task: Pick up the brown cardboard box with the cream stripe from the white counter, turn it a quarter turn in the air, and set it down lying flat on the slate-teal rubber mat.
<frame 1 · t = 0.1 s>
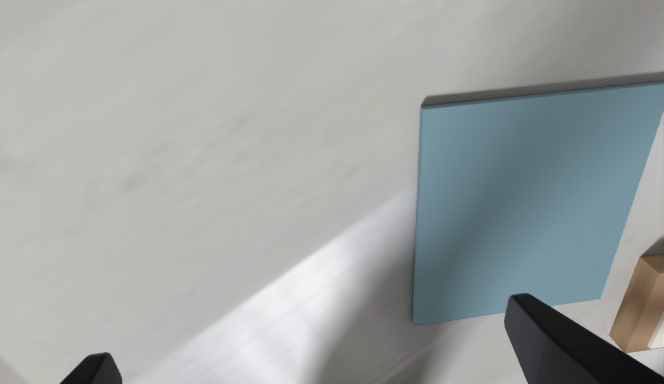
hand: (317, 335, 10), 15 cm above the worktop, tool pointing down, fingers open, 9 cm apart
brown cardboard box: (650, 290, 33), on the worktop
mat: (522, 215, 28), on the worktop
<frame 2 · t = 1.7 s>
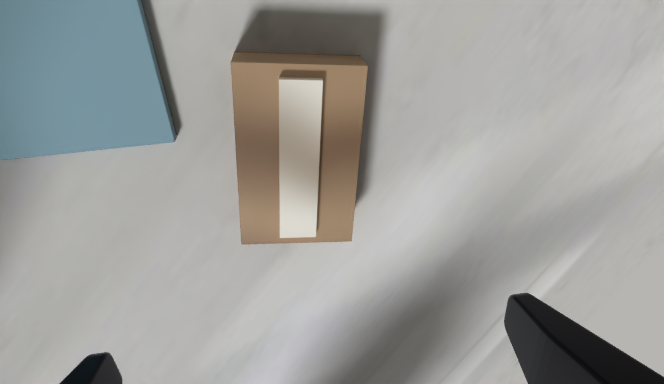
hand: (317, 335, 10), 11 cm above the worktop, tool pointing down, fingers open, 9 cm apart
brown cardboard box: (296, 142, 20), on the worktop
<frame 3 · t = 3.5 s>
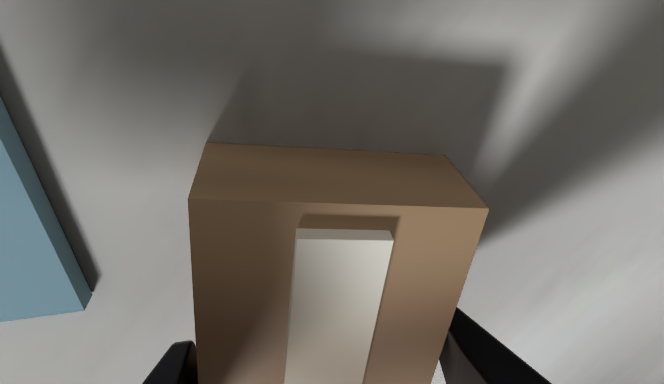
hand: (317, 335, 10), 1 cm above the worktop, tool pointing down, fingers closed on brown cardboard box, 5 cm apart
brown cardboard box: (313, 295, 11), on the worktop, touching gripper
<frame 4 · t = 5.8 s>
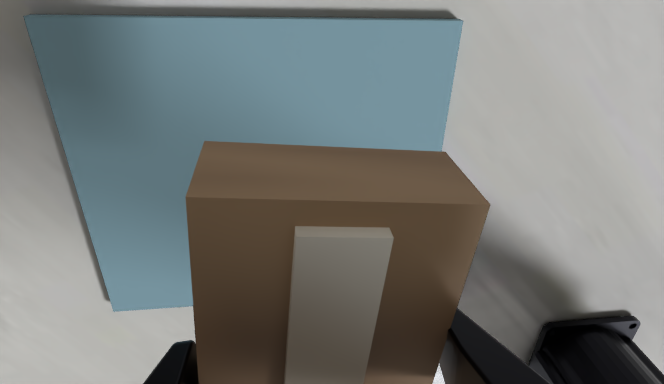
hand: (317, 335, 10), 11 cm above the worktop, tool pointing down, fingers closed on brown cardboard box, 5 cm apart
brown cardboard box: (314, 293, 11), point 10 cm above the worktop, touching gripper
mat: (266, 179, 20), on the worktop
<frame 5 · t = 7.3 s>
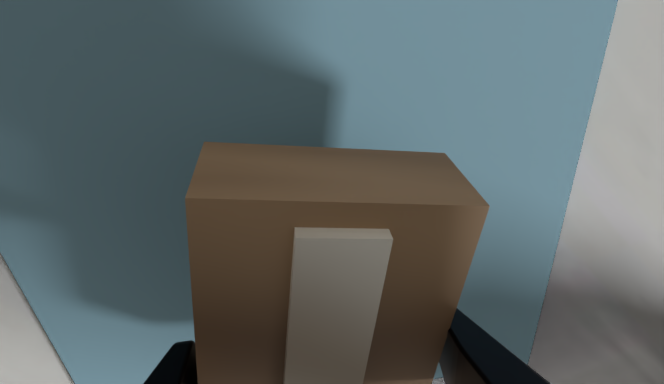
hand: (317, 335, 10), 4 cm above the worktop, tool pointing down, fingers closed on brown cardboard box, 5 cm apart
brown cardboard box: (313, 294, 11), point 3 cm above the worktop, touching gripper
mat: (303, 236, 13), on the worktop
when the fingers open (3 cm above the worktop, at t = 8.3 s): brown cardboard box drops 1 cm, resting on mat.
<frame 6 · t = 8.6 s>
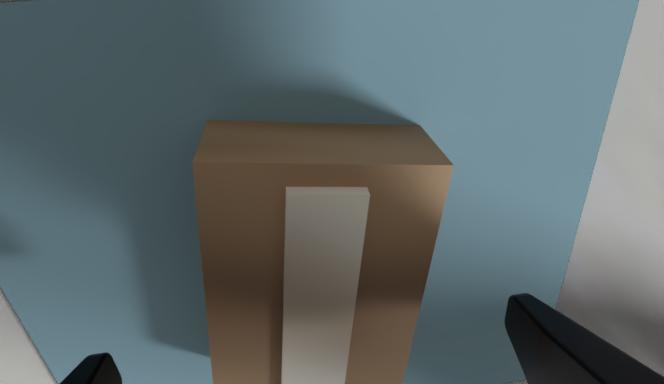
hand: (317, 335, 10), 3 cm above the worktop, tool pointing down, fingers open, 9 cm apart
brown cardboard box: (309, 258, 12), resting on mat
mat: (306, 249, 12), on the worktop
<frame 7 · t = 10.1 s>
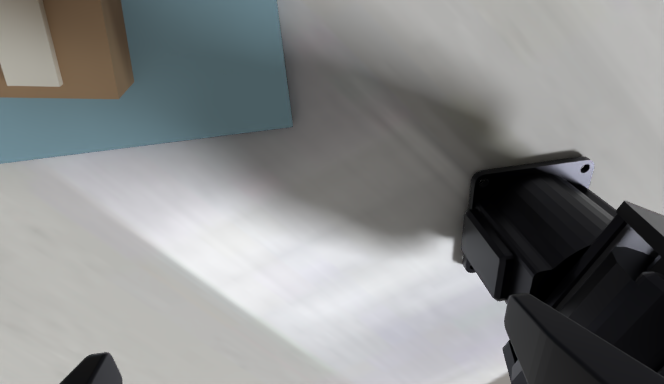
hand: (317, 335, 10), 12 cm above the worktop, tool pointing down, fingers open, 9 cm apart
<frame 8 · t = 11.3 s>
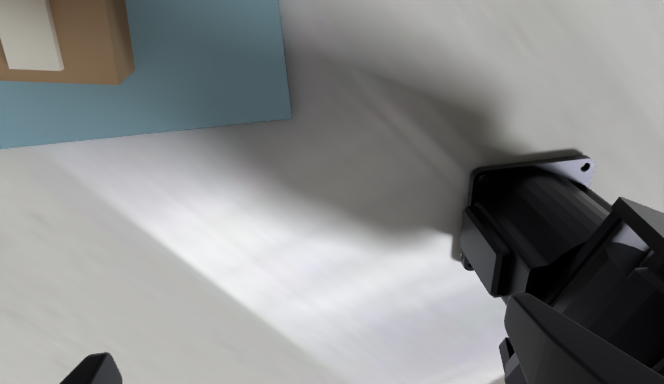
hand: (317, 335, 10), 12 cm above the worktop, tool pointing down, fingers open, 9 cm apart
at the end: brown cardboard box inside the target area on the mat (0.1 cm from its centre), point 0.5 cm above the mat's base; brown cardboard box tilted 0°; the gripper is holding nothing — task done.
